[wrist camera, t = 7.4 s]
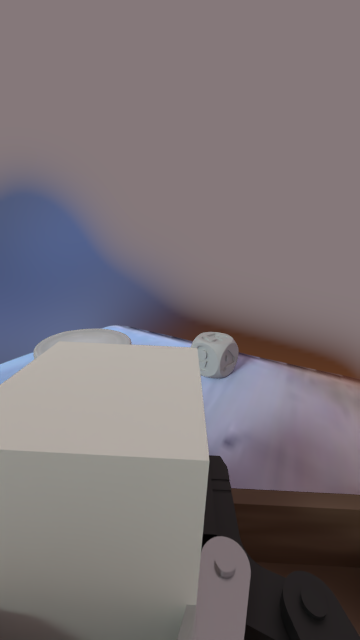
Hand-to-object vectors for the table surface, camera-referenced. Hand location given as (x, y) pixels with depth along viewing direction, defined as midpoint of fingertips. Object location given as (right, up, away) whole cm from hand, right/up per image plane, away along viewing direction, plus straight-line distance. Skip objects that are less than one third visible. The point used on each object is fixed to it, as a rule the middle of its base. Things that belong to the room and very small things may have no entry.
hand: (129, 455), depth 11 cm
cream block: (0, -7, -1) cm, 7 cm away
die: (+7, -2, +26) cm, 27 cm away
